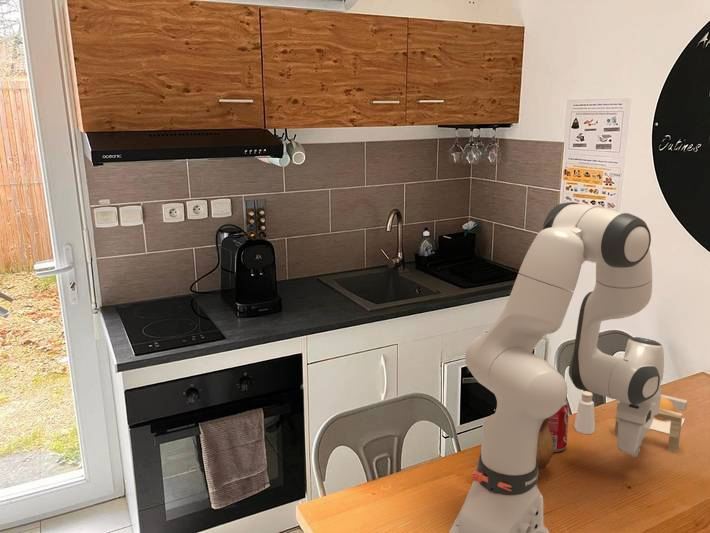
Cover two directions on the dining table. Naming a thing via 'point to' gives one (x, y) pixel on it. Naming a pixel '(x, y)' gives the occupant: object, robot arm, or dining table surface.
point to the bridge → (674, 427)
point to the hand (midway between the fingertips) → (634, 453)
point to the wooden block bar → (676, 402)
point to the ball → (666, 405)
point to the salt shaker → (585, 414)
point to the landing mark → (662, 425)
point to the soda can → (559, 428)
